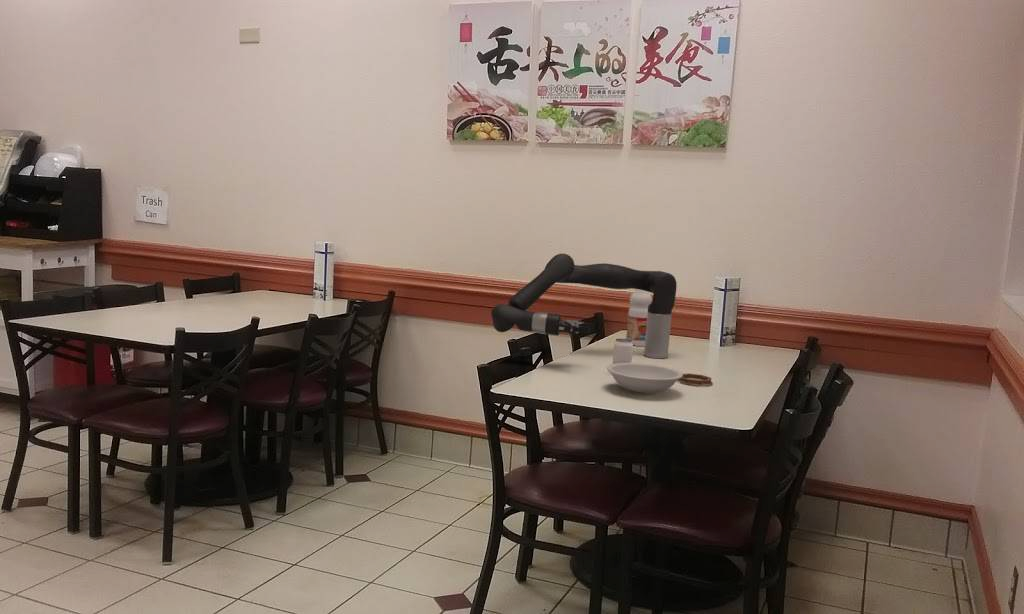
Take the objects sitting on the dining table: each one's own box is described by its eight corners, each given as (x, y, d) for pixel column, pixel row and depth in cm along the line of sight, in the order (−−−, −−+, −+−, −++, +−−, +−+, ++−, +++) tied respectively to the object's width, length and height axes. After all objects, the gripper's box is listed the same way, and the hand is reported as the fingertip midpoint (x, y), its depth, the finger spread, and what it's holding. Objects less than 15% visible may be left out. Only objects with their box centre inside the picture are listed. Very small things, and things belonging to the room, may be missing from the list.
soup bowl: (602, 380, 280) (604, 360, 279) (674, 385, 279) (676, 365, 278) (608, 397, 256) (610, 376, 255) (687, 402, 255) (689, 381, 255)
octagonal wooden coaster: (677, 376, 292) (678, 371, 292) (712, 381, 289) (713, 375, 289) (675, 383, 281) (675, 378, 280) (711, 388, 278) (712, 382, 277)
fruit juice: (631, 341, 359) (637, 276, 356) (651, 344, 354) (657, 279, 351) (622, 344, 352) (627, 277, 348) (642, 347, 347) (648, 280, 343)
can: (629, 376, 287) (632, 342, 286) (610, 374, 289) (613, 340, 287) (631, 373, 294) (633, 339, 292) (612, 371, 295) (615, 337, 293)
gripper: (542, 315, 289) (589, 320, 285) (551, 310, 302) (596, 315, 298) (541, 336, 290) (587, 342, 286) (550, 331, 303) (594, 336, 299)
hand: (591, 328), depth 292 cm, fingers open, 8 cm apart
